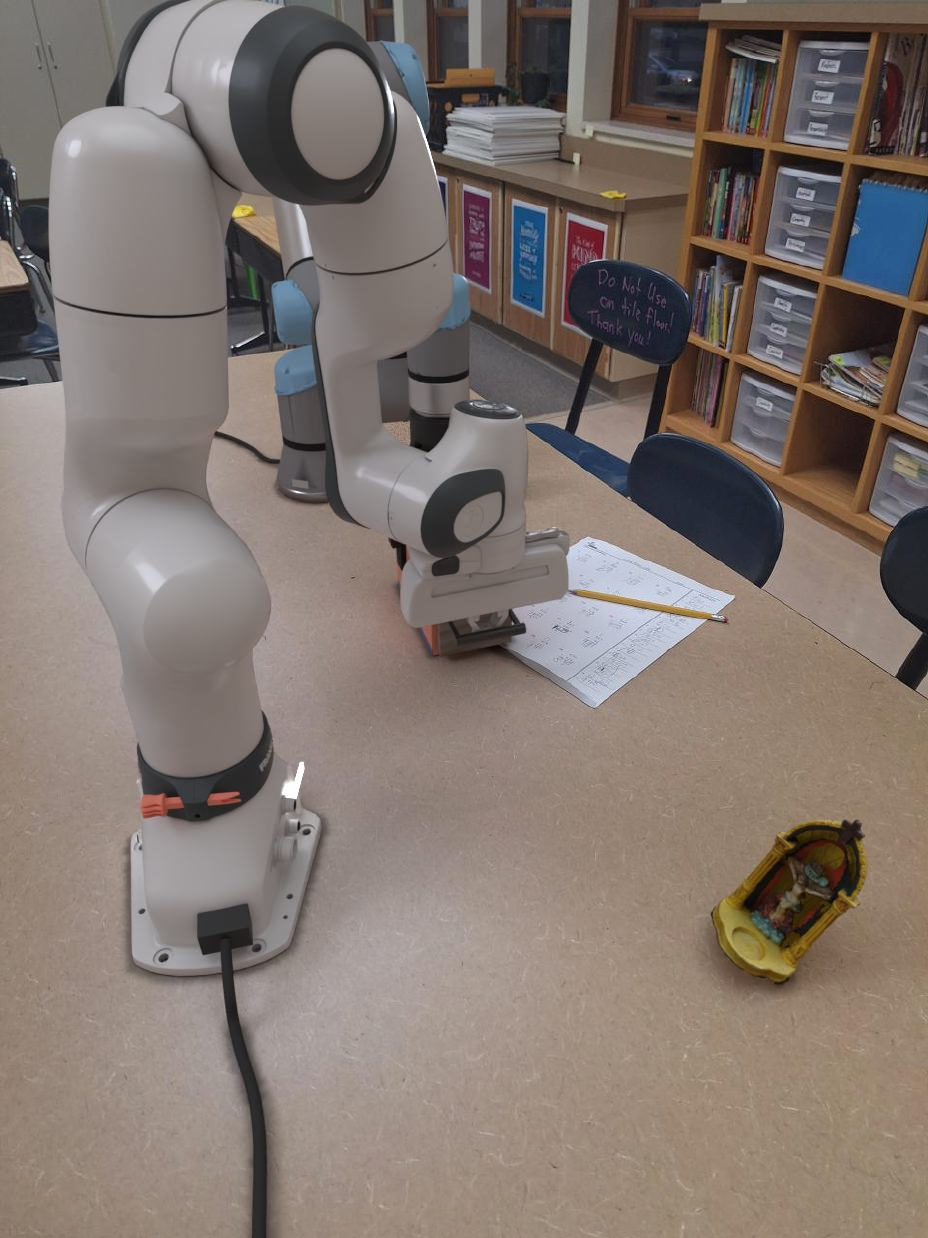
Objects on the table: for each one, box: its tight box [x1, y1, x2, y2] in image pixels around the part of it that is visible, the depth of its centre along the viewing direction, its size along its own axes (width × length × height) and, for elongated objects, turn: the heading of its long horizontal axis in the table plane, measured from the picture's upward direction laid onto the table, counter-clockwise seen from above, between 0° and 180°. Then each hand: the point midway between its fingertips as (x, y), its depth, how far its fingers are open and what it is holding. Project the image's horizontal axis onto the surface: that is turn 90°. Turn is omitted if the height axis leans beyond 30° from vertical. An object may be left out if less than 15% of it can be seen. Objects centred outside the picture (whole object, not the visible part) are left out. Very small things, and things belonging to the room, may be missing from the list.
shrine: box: [710, 818, 868, 986], centre depth 72 cm, size 12×8×15 cm
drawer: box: [437, 609, 527, 657], centre depth 112 cm, size 22×10×9 cm, turn 18°
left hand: (485, 637), depth 105 cm, fingers closed, pressing on drawer
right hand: (442, 559), depth 119 cm, fingers closed on cabinet, 11 cm apart
